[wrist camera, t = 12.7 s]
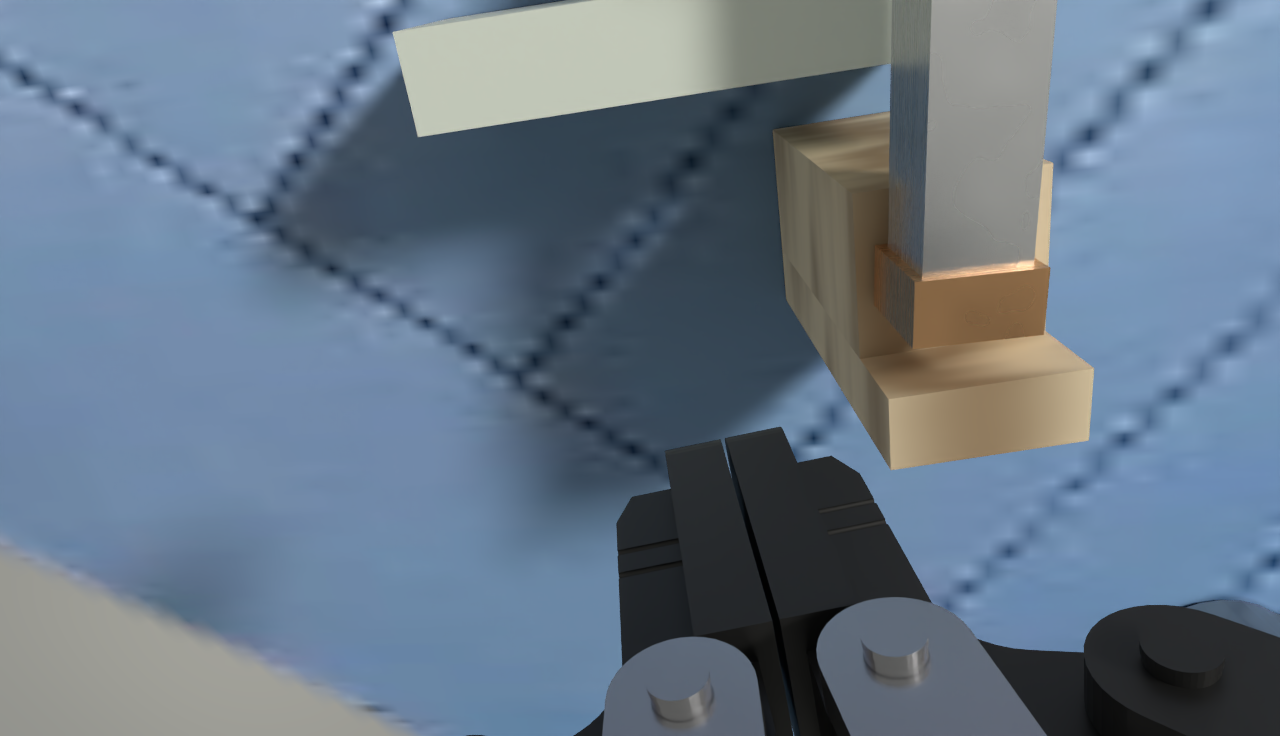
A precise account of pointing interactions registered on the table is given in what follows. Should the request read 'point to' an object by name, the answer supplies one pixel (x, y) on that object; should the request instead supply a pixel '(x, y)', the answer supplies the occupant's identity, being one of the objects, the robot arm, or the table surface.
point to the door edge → (625, 54)
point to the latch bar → (966, 170)
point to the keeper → (872, 348)
